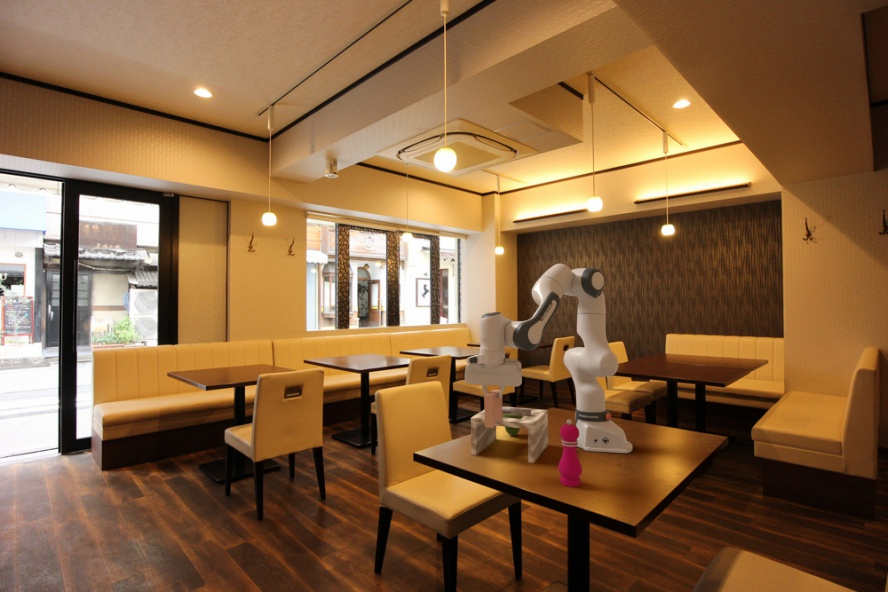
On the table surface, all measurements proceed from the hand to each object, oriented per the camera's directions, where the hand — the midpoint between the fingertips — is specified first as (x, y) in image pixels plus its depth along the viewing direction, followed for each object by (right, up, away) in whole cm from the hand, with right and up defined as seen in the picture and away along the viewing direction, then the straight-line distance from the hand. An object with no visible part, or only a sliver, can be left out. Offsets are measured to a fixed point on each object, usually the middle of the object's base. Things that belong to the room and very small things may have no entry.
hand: (493, 397), depth 160 cm
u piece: (0, -9, 0) cm, 9 cm away
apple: (+13, -25, +39) cm, 48 cm away
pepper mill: (+22, -24, -17) cm, 37 cm away
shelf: (+9, -25, +18) cm, 32 cm away
